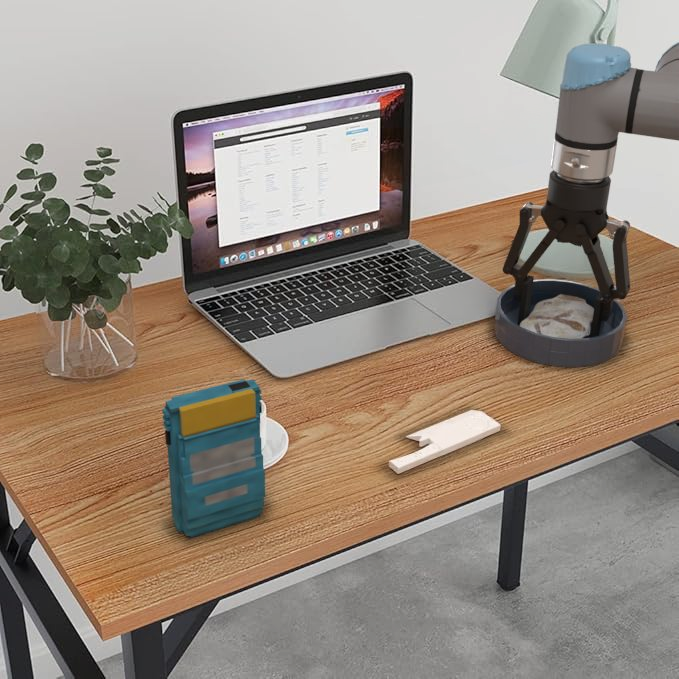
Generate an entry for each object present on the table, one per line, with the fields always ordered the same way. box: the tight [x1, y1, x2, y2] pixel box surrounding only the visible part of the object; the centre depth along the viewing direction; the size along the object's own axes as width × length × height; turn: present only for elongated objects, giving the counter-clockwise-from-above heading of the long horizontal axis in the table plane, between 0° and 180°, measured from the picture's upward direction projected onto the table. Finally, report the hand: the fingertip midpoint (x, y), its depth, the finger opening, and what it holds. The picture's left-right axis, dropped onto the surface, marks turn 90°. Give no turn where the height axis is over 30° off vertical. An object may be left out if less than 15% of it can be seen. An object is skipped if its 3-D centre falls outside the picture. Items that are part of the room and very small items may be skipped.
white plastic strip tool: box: [388, 409, 502, 475], centre depth 121 cm, size 5×15×1 cm, turn 125°
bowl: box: [493, 278, 628, 368], centre depth 143 cm, size 17×17×4 cm
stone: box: [520, 294, 594, 339], centre depth 143 cm, size 12×9×3 cm
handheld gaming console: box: [161, 378, 266, 539], centre depth 105 cm, size 10×4×15 cm, turn 118°
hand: (557, 330), depth 143 cm, fingers closed on stone, 9 cm apart
